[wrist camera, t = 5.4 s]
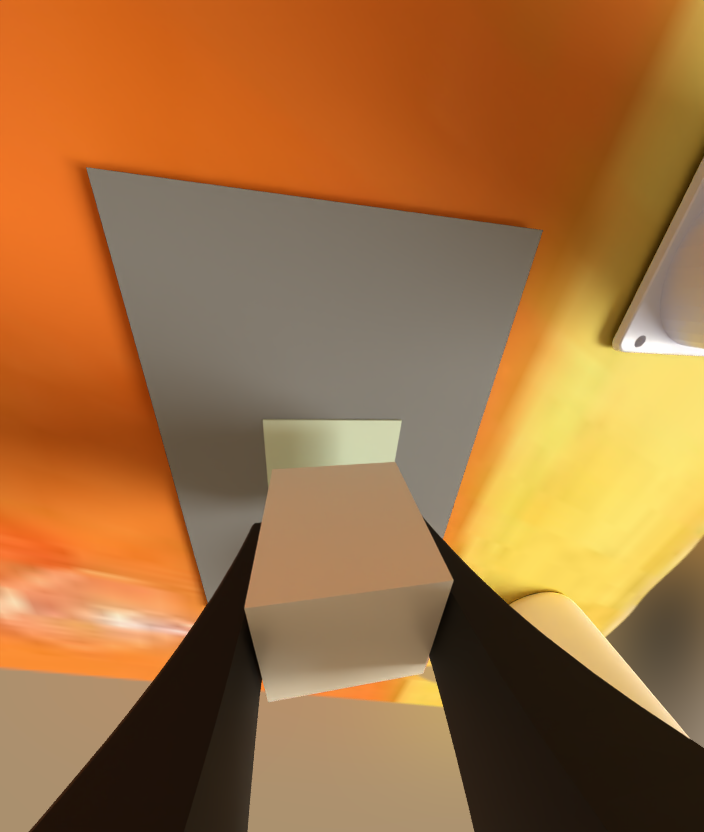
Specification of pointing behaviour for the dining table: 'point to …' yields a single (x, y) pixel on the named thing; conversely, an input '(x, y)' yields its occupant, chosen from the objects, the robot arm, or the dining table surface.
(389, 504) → the cream block
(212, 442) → the mat
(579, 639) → the mug
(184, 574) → the dining table surface
